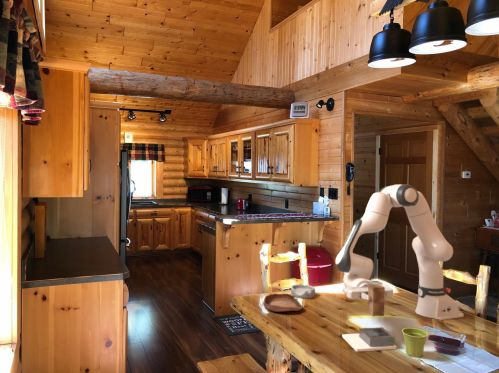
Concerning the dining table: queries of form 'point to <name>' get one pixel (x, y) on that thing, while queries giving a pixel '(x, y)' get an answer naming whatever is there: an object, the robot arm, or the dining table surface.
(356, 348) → the base plate
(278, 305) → the basket
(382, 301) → the walnut post
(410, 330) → the plant pot
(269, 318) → the dining table surface
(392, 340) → the steel collar
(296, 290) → the dish
